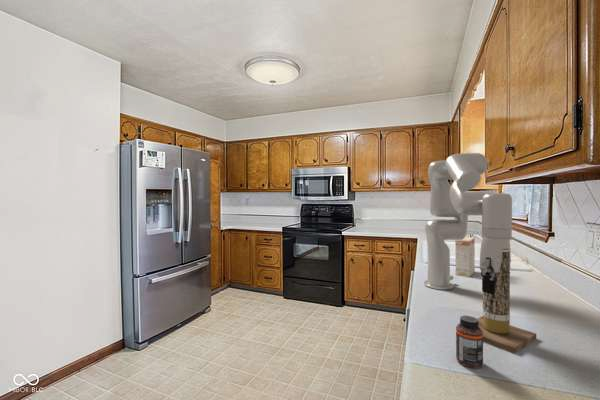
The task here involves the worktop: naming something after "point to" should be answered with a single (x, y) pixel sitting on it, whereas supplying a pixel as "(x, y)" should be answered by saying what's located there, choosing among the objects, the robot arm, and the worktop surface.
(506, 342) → the board
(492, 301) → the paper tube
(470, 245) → the coffeecake box
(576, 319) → the worktop surface
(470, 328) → the supplement bottle
